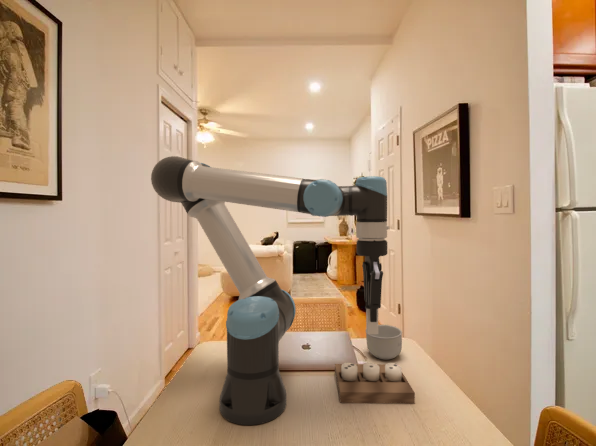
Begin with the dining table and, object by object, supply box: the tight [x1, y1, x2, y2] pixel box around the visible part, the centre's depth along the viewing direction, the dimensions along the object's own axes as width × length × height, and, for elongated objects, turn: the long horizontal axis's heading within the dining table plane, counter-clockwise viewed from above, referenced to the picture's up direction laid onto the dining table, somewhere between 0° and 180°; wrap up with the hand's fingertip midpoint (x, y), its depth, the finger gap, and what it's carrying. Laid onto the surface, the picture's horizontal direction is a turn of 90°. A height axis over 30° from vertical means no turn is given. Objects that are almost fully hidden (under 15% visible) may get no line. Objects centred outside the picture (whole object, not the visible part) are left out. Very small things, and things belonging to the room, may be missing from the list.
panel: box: [334, 363, 416, 405], centre depth 81 cm, size 17×14×2 cm
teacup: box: [365, 324, 403, 360], centre depth 101 cm, size 14×11×8 cm
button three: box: [341, 362, 357, 381], centre depth 81 cm, size 4×4×3 cm
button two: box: [385, 362, 403, 381], centre depth 81 cm, size 4×4×3 cm
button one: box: [363, 362, 380, 381], centre depth 81 cm, size 4×4×3 cm
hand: (372, 333), depth 81 cm, fingers closed
